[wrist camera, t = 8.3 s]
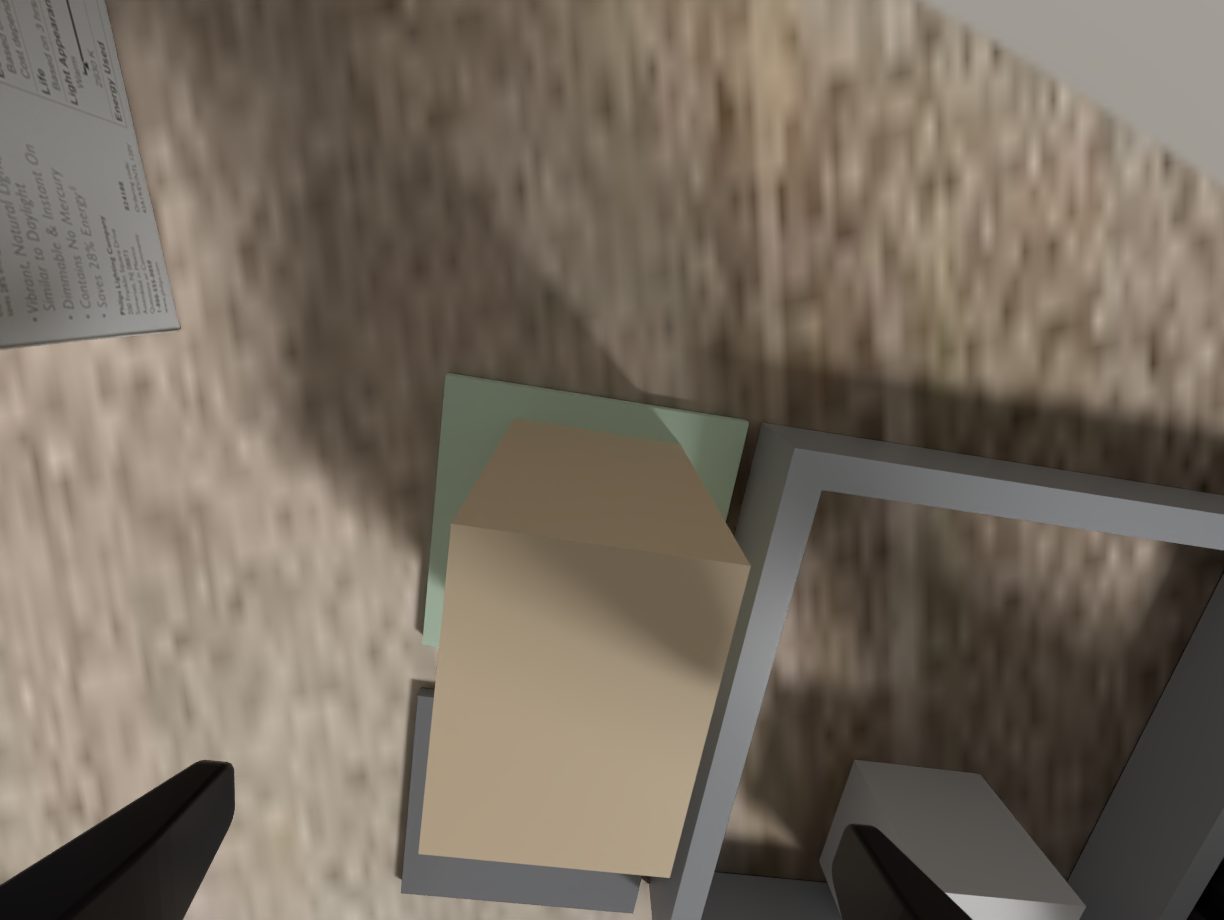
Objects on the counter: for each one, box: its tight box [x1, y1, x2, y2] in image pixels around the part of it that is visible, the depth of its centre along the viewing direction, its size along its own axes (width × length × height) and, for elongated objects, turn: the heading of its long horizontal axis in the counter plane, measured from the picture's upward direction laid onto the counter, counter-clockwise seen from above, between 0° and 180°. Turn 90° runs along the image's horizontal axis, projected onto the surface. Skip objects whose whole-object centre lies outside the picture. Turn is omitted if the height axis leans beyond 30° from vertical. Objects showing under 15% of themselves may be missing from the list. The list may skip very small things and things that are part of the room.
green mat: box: [422, 373, 749, 647], centre depth 18 cm, size 9×9×1 cm
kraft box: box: [418, 418, 751, 878], centre depth 14 cm, size 5×7×8 cm
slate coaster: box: [401, 688, 642, 913], centre depth 21 cm, size 9×9×1 cm
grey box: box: [819, 760, 1086, 920], centre depth 20 cm, size 5×5×5 cm
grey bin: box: [649, 422, 1224, 920], centre depth 20 cm, size 18×19×3 cm
